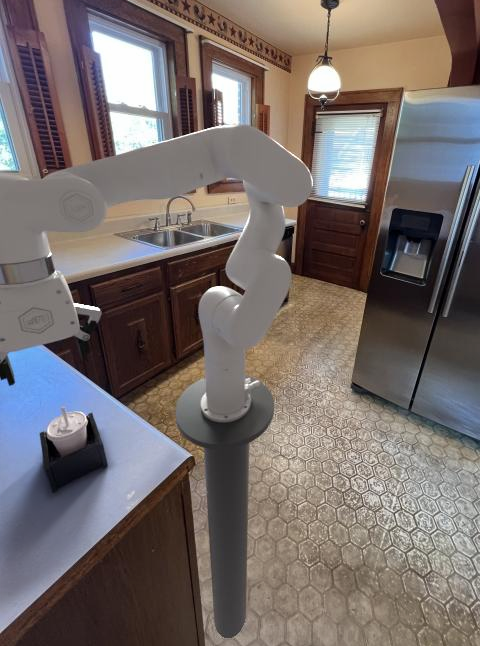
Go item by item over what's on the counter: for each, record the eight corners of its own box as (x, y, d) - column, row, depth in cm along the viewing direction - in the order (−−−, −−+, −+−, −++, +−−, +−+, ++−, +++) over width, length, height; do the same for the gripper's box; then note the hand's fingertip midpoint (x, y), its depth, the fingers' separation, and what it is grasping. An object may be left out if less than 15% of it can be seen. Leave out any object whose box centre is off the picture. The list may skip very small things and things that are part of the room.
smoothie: (65, 481, 58) (47, 425, 52) (52, 462, 61) (33, 407, 55) (101, 458, 62) (88, 404, 57) (87, 441, 66) (73, 388, 60)
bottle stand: (97, 433, 68) (92, 412, 65) (108, 465, 61) (102, 443, 59) (46, 454, 62) (39, 432, 60) (52, 493, 56) (44, 470, 53)
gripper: (-72, 290, 36) (-23, 406, 42) (97, 265, 46) (114, 360, 53) (-65, 272, 41) (-23, 377, 47) (85, 253, 51) (102, 341, 58)
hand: (50, 368), depth 50 cm, fingers open, 9 cm apart
